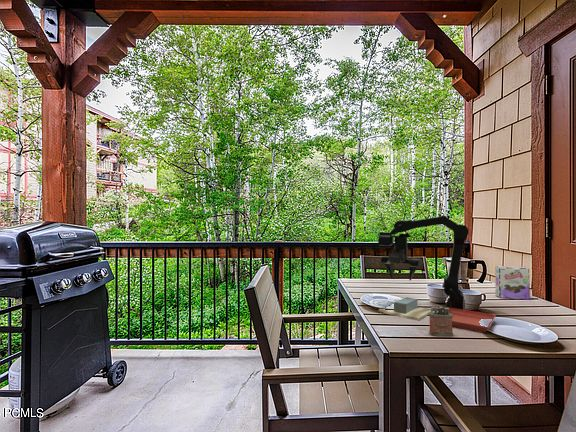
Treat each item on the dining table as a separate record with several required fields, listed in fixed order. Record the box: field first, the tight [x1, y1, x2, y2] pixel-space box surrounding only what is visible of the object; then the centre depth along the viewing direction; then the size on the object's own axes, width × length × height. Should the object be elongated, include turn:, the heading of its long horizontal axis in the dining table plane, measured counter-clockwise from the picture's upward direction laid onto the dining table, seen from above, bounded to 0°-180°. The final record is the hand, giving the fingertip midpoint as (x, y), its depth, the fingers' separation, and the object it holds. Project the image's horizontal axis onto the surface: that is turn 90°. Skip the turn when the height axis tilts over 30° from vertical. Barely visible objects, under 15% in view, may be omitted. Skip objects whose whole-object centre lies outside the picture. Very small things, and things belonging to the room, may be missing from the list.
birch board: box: [378, 306, 434, 321], centre depth 138 cm, size 18×16×1 cm
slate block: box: [393, 297, 419, 314], centre depth 139 cm, size 5×4×13 cm
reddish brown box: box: [428, 305, 454, 337], centre depth 111 cm, size 8×3×10 cm, turn 84°
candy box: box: [494, 265, 531, 301], centre depth 162 cm, size 14×6×16 cm, turn 73°
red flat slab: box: [445, 306, 497, 333], centre depth 123 cm, size 18×18×3 cm
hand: (400, 278), depth 147 cm, fingers open, 9 cm apart
